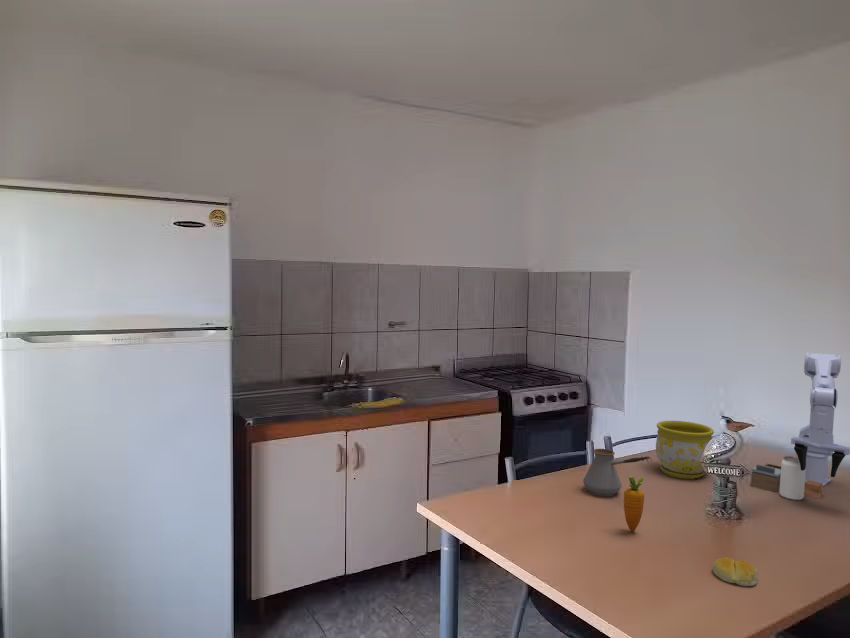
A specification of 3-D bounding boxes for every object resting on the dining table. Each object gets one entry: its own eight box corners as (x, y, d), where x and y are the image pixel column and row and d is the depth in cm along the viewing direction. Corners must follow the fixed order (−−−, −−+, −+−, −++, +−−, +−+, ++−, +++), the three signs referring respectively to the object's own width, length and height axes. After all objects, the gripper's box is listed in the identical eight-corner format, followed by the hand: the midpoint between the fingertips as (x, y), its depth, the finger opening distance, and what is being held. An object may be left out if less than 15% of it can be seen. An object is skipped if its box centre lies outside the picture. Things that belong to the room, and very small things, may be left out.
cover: (759, 466, 199) (759, 460, 199) (784, 472, 194) (785, 465, 193) (751, 471, 194) (752, 464, 194) (777, 477, 189) (778, 470, 188)
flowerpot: (650, 463, 216) (652, 418, 215) (703, 467, 212) (706, 422, 211) (659, 479, 198) (662, 431, 197) (717, 484, 195) (720, 435, 194)
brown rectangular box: (766, 476, 204) (767, 463, 204) (791, 482, 199) (792, 469, 199) (750, 485, 195) (751, 471, 194) (776, 492, 189) (777, 478, 189)
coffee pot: (575, 490, 186) (577, 443, 185) (596, 483, 193) (598, 437, 192) (637, 512, 169) (640, 460, 168) (658, 503, 177) (661, 453, 176)
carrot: (641, 529, 157) (645, 474, 156) (642, 537, 153) (645, 480, 152) (622, 526, 159) (625, 471, 158) (621, 534, 154) (624, 477, 153)
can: (796, 493, 188) (799, 456, 188) (807, 501, 182) (810, 462, 181) (775, 492, 189) (777, 455, 188) (785, 499, 183) (788, 461, 182)
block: (807, 492, 190) (808, 479, 190) (822, 495, 187) (823, 483, 187) (803, 494, 188) (804, 482, 187) (818, 498, 185) (819, 486, 184)
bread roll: (714, 565, 139) (715, 548, 139) (758, 576, 134) (759, 559, 134) (709, 579, 132) (710, 561, 132) (755, 591, 128) (756, 573, 127)
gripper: (789, 424, 178) (786, 469, 179) (847, 435, 167) (843, 482, 168) (796, 421, 183) (793, 464, 184) (853, 431, 172) (849, 477, 173)
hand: (817, 473), depth 176 cm, fingers open, 7 cm apart
